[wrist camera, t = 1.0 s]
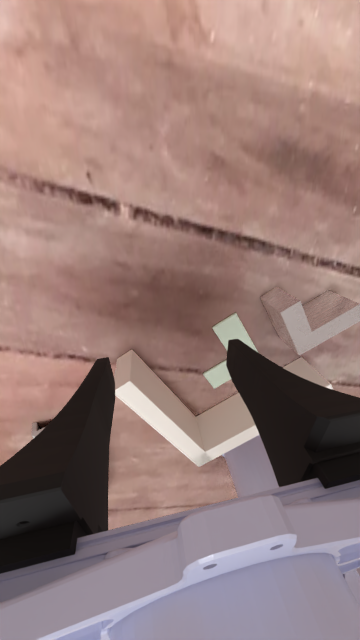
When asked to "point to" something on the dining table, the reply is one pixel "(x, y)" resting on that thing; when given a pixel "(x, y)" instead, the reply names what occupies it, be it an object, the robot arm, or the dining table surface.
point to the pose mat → (225, 332)
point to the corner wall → (179, 422)
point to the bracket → (309, 317)
